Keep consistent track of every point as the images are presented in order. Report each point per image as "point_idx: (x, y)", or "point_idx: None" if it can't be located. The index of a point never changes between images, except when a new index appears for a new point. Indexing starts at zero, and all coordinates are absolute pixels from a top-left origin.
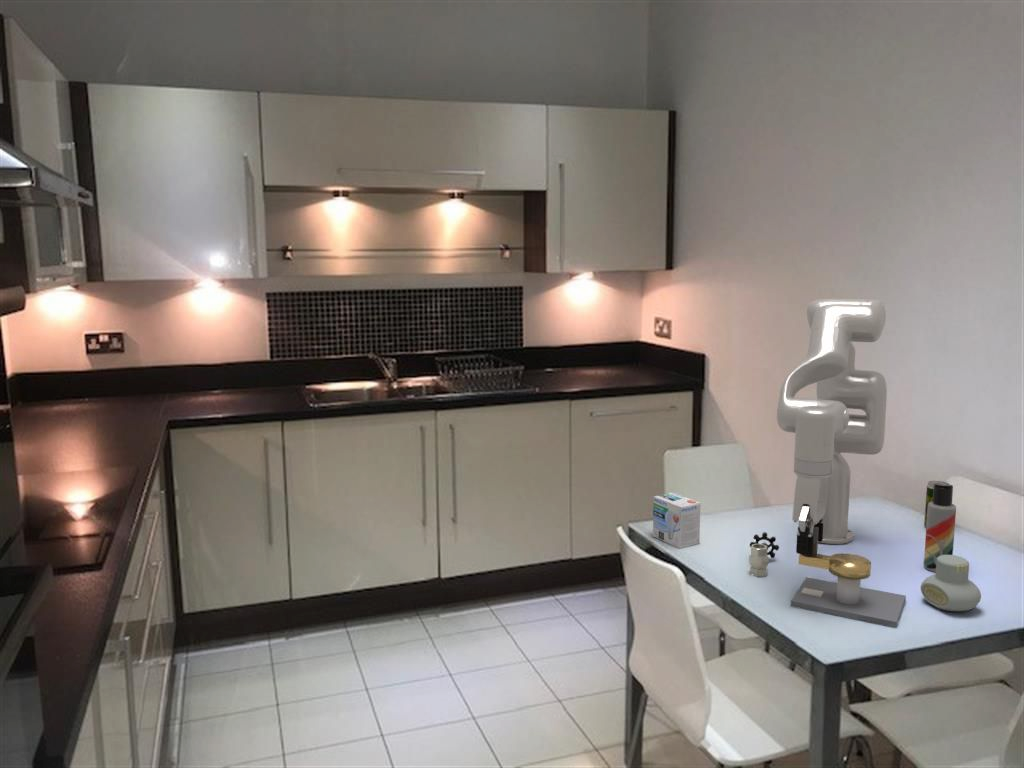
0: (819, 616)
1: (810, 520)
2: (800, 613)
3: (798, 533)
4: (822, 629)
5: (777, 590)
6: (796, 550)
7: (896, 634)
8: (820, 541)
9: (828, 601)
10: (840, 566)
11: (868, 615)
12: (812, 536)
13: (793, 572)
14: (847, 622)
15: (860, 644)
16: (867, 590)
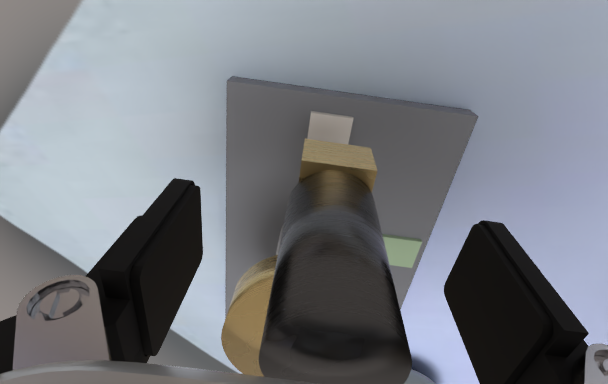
0: (202, 165)
1: (577, 358)
2: (193, 112)
3: (29, 306)
4: (123, 176)
5: (362, 7)
6: (171, 184)
7: (197, 307)
8: (448, 285)
9: (276, 193)
10: (226, 321)
11: (231, 277)
12: (138, 362)
13: (576, 52)
14: (203, 228)
15: (102, 251)
16: (397, 279)
